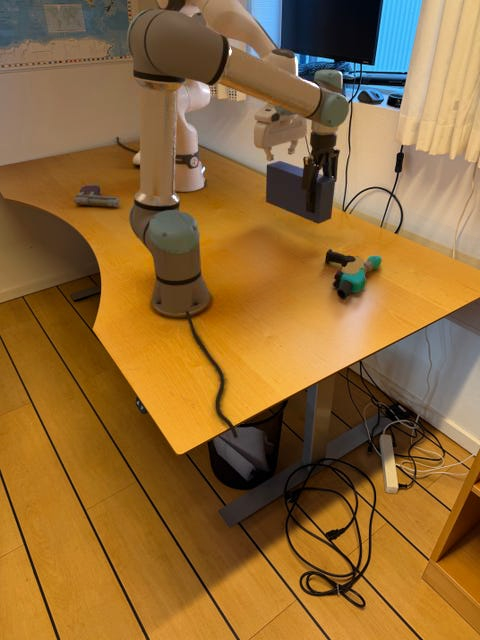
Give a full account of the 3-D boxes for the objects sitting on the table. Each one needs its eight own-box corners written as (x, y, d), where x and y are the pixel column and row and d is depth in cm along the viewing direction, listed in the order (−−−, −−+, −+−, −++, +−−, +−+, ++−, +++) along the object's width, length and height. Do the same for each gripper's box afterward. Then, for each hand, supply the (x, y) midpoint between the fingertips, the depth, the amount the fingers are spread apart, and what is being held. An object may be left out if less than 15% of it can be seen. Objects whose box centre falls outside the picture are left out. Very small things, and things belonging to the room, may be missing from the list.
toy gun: (131, 195, 187) (116, 210, 175) (87, 192, 190) (69, 207, 178) (130, 185, 185) (114, 200, 173) (85, 182, 188) (67, 197, 176)
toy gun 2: (303, 279, 125) (359, 293, 119) (335, 240, 143) (384, 251, 138) (302, 294, 128) (356, 308, 122) (333, 254, 146) (382, 265, 140)
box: (331, 218, 150) (335, 179, 142) (318, 224, 146) (322, 183, 139) (278, 197, 164) (279, 160, 157) (265, 202, 161) (266, 164, 154)
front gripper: (335, 123, 142) (328, 197, 156) (291, 135, 132) (287, 213, 146) (355, 128, 138) (346, 204, 151) (311, 140, 128) (305, 220, 141)
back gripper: (298, 104, 151) (296, 148, 159) (250, 114, 140) (250, 162, 148) (313, 107, 147) (310, 152, 155) (264, 118, 137) (264, 166, 145)
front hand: (317, 208), depth 148 cm, fingers closed on box, 6 cm apart
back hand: (280, 157), depth 152 cm, fingers open, 8 cm apart
